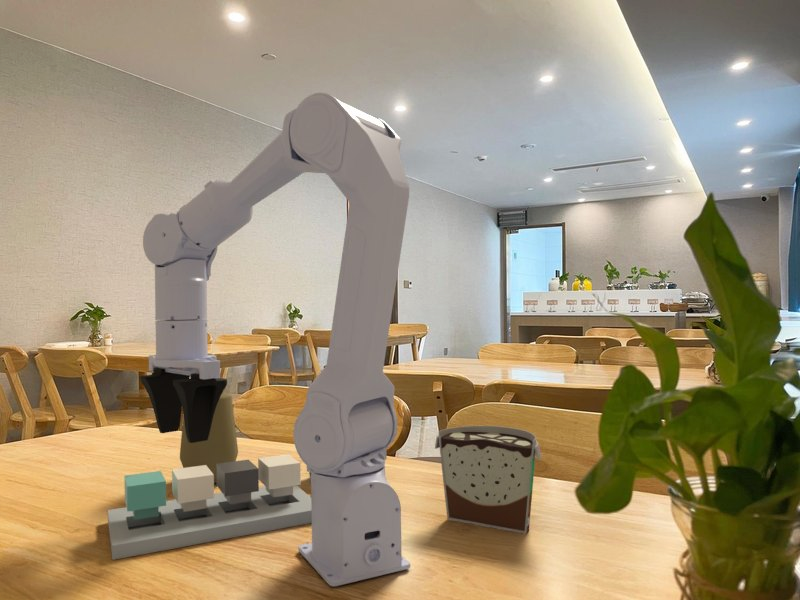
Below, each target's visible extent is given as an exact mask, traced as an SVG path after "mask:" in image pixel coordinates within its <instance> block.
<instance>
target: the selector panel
mask: <svg viewBox="0 0 800 600" xmlns="http://www.w3.org/2000/svg"><path fill="white" fill-rule="evenodd" d="M206 505H207V508H205V509H199V510H193V511H186V512H184V511H183V509H182V507H181V505H180V504H178V503H177V501H176V499H171V500H166V506H160V507H159V516H155V517H149V518H143V519H137V520H134V516H133V512H132V511H128V512H127V507H126V506H125V507H118V508H112V509H108V510H107V525H108V532H109V535H108V536H109V540H110V551H111V558H112V560H113V561H114V560H119V559H125V558H130V557H131V558H132V557H134V556H140V555H141V556H142V555H146V554H152V553H157V552H161V551H167V550H174V549H179V548H184V547H188V546H194V545H200V544H206V543H210V542H215V541H216V542H217V541H222V540H226V539H232V538H238V537H242V536H248V535H253V534H259V533H264V532H269V531H274V530H281V529H285V528H290V527H296V526H302V525H307V524H312V510H311V496H310V495H309V494H307V493H306V492H305V491H304V490H303V489H302V488H300V486H299V485H296V486H293V494H292V495H285V496H279V497H273V496H272V495H270V494H269V493H268V492H267V491H266V486H265V485H264V486H259V491H257V492H251V501H248V502H242V503H236V504H229V502H228V501H227V500H226V498H225V497H224V494H223V493H222V492H217V493H214V498H212V499H206Z"/></svg>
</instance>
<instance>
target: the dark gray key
mask: <svg viewBox="0 0 800 600" xmlns="http://www.w3.org/2000/svg"><path fill="white" fill-rule="evenodd" d="M216 466H217V483H216V487H217V488H218V489H219V490H220V493H223V494H224V497H225V498H226V500H227V501H228V502H229V504H236V503H242V502H248V501H251V492H257V491H259V487H260V485H259V483H260V480H259V472H258V467H257V466H256V465H255V464H254V462H252V461H251V460H250V459H243V460H236V461H233V462H225V463H218V464H216Z"/></svg>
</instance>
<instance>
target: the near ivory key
mask: <svg viewBox="0 0 800 600" xmlns="http://www.w3.org/2000/svg"><path fill="white" fill-rule="evenodd" d="M257 460H258V461H257V463H258V464H257V466H258V467H257V468H258V472H259V482H261V484H263V485H264V486H266V491H267V492H268V493H269V494H270V495H272V496H273V497H279V496H285V495H292V494H293V486H296V485H297V486H300V485H302V483H301V482H302V481H301V475H302V474H301V462H300V461H298V460H297V459H296V458H294V457H293V456H291V455H290V454H289V453H287V454H281V455H273V456H265V457H258V459H257Z"/></svg>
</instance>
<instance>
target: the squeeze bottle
mask: <svg viewBox="0 0 800 600" xmlns="http://www.w3.org/2000/svg"><path fill="white" fill-rule="evenodd" d="M207 354H208V355H213V353H208V352H207ZM225 390H226V388H225V389H224V391H223V392H222V394H221V396H220V399H219V401H218V403H217V406H216V409H215V412H214V416H213V420H212V425H211V429H210V433H209V437H208V440H206V441H200V442H195V443H190V442H188V439H187V436H186V430H185V422H184V414H182V415H183V417H182V425H181V426H182V427H181V437H180V449H179V450H180V451H179V460H180V462H181V465H182V468H187V467H195V466H202V465H206V466H207V467H208V468H209V469H210V471H211V472H212V473H213V474H214V484H217V466H216V464H218V463H225V462H233V461H237V458H238V456H239V449H238V439H237V429H236V422H235V411H234V404H233V397H232V395H231V394H230V393H228V392H225Z"/></svg>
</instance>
